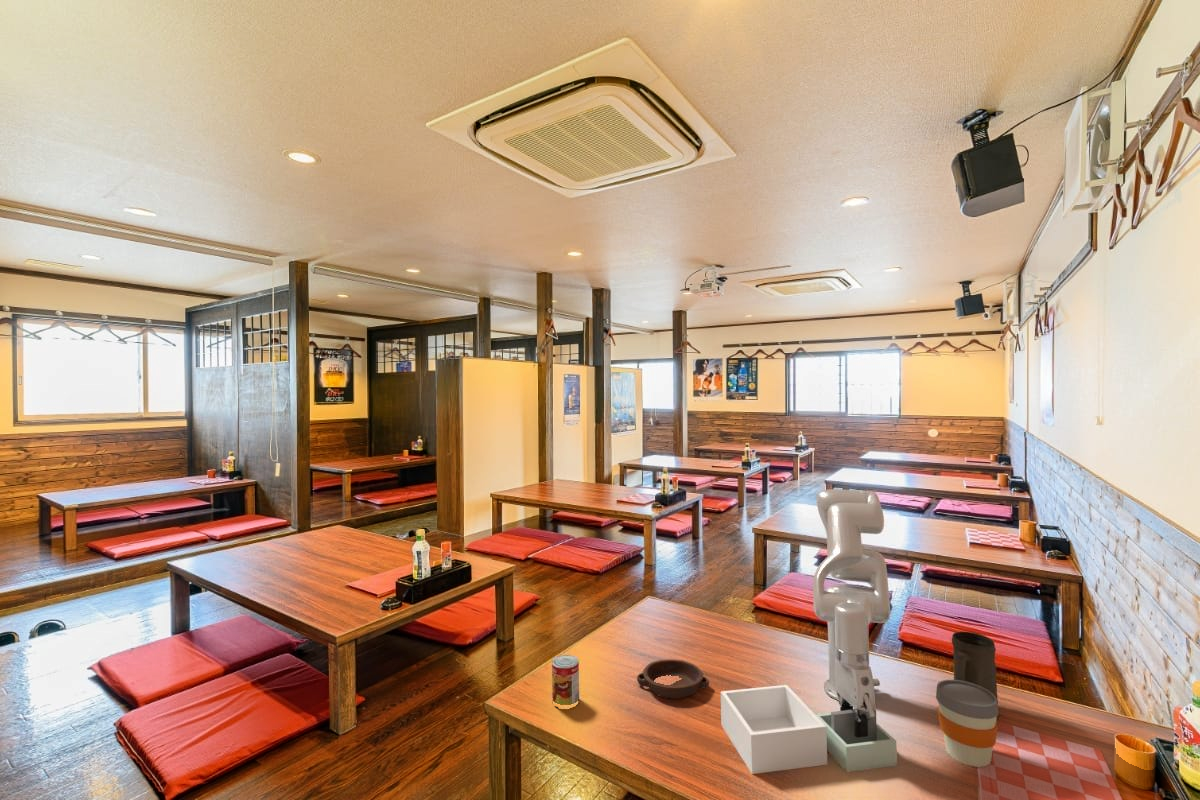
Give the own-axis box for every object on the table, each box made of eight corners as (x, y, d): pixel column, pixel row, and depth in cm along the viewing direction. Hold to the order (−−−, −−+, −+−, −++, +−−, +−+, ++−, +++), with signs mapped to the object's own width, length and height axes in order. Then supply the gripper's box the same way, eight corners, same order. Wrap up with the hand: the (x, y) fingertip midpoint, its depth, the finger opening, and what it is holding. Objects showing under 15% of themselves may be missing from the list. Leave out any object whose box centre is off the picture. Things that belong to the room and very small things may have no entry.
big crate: (787, 717, 143) (786, 684, 143) (827, 764, 124) (826, 726, 124) (721, 725, 140) (720, 691, 140) (752, 774, 121) (751, 735, 121)
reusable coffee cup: (1013, 765, 122) (1011, 701, 123) (973, 777, 119) (971, 711, 119) (962, 734, 134) (961, 675, 135) (925, 743, 131) (923, 683, 131)
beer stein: (957, 692, 154) (953, 625, 153) (1002, 706, 146) (999, 636, 145) (944, 718, 143) (940, 647, 142) (992, 735, 135) (989, 660, 134)
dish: (712, 706, 149) (711, 689, 149) (635, 702, 152) (634, 685, 152) (707, 675, 166) (706, 659, 166) (638, 672, 169) (638, 657, 169)
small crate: (861, 732, 136) (860, 694, 136) (897, 766, 123) (895, 723, 123) (815, 738, 134) (814, 699, 134) (846, 773, 121) (845, 729, 121)
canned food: (556, 693, 157) (556, 653, 157) (582, 696, 155) (581, 655, 156) (549, 708, 149) (548, 666, 149) (575, 711, 148) (574, 668, 148)
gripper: (889, 671, 121) (891, 749, 121) (845, 639, 138) (846, 708, 138) (860, 674, 120) (862, 753, 120) (818, 641, 137) (820, 711, 137)
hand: (854, 728), depth 129 cm, fingers open, 4 cm apart
